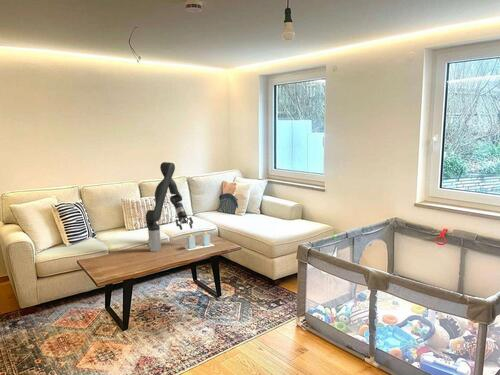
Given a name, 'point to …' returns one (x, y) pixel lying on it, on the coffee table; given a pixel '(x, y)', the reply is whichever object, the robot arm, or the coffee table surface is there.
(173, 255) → the coffee table surface
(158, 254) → the coffee table surface
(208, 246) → the card
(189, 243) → the post
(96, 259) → the coffee table surface
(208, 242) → the post
